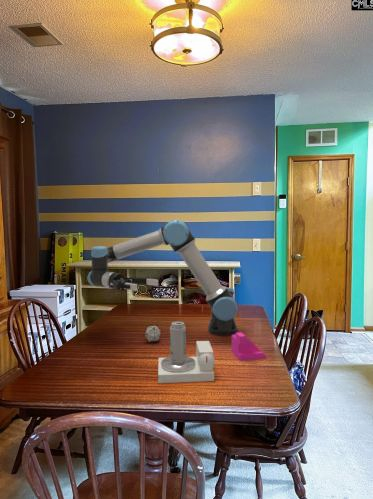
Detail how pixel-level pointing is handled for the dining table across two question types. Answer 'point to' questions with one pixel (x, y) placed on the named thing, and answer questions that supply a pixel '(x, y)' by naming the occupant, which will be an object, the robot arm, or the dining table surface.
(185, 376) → the scale
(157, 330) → the grey rounded lump
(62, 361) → the dining table surface
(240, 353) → the bracket
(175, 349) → the energy drink can
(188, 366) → the scale pan
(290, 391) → the dining table surface
